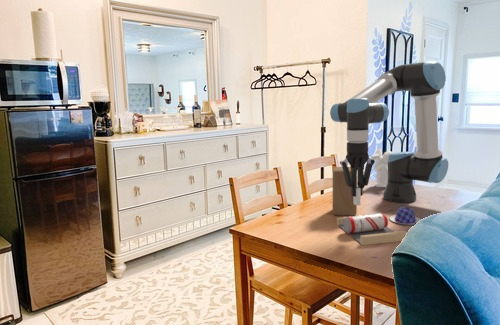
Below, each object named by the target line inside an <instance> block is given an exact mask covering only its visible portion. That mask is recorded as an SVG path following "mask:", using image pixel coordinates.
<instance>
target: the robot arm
mask: <svg viewBox="0 0 500 325" xmlns="http://www.w3.org/2000/svg"><path fill="white" fill-rule="evenodd" d="M446 78H447V76H446V71H445V68H444V67H443V65H442V64H441V63H440V62H438V61H424V62H416V63H415V62H414V63H406V64H401V65H398V66H395V67H393V68H391V69H389V70H387V71H386V72H384V73H383V74H381V75H380V76H379V77H378V78H377V79H376V81H375V82H373V83H371V84H370V85H369V86H367V87H366V88H364V89H363V90H361V91H359V92H357V94H355V95H354V96H352V97H350V98H349V99H348V100H345V101H344V102H342V103H341V102H339V103H335V104H332V106H331V107H330V111H329V114H330V118H331V120H332V121H333V122H334V123H335V122H337V123H341V124H342V123H346V141H347V142H346V156H345V158H344V160H340V161H339V164H340V167H342V168H343V172H344V177H345V181H346V185H347V186H349V187H351V195H352V196H353V204H355V205H356V206H357V207H358V206H361V197H362V196H363V193H364V191H363V189H364V188H365V186H366V187H367V186H368V185H369V181H370V177H371V174H372V170H373V169H372V168H373V167H374V165H375V161H376V160H373V159H371V157H370V155H369V142H368V141H369V126H370V125H371V124H379V123H383V122H385V121H387V119H388V117H389V115H390V110H389V107H388V106H387V104H386V103H385V102H379V101H380V100H382V99H383V98H385V97H386V96H388V95H389V96H390V95H393V94H395V93H396V92H410V97H411V98H413V99H414V116H415V128H416V129H415V131H416V147H417V148H416V149H417V150H416V151H415V152H413V151H400V152H399V151H397V152H393V153H392V154H390V155H389V156H388V162H387V163H388V180H387V185H386V187H384V188H385V189H384V191H383V197H382V198H383V199H384V200H385V201H388V202H393V203H394V202H395V203H411V202H415V201H417V193H416V190H415V187H414V186H415V185H414V181H419V182H426V183H430V184H439V183H442V181H443V180H444V179H445V178H446V176H447V173H448V170H449V161H448V159H447V158H446V157H444V156H443V151H441V150H440V149H439V133H438V131H439V129H438V109H437V108H438V106H437V105H438V104H437V96H439V95H440V94H441V90H443V88H444V86H445V85H446ZM369 124H370V125H369ZM348 165H349V166H348ZM348 167H350V168H351V178H350V173H349V169H348Z"/></svg>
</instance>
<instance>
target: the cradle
mask: <svg viewBox="0 0 500 325" xmlns="http://www.w3.org/2000/svg"><path fill="white" fill-rule="evenodd" d="M346 217H347V216H340V217H336V226H337V227H339V228H340V229H341V230H343V231H344V232H345V233H346V234H347V235H349V236H350V237H351V238H353V239H354V241H356V242H358V244H360V245H361V246H367V245H369V246H370V245H377V244H378V245H379V244H386V243H387V244H388V243H395V242H396V243H397V242H403V241H402V239H403V238H404V237H405V235H406V233H407V234H408V231H406V230H401V231H395V230H393V229H391V228H389V227H388V226H387V227H385V228H383V229H381V230H373V231H365V232H358V233H347V232H346V231H345V230H344V227H343V220H344V219H345V218H346ZM348 217H350V216H348Z"/></svg>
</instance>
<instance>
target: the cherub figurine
mask: <svg viewBox="0 0 500 325" xmlns="http://www.w3.org/2000/svg"><path fill="white" fill-rule="evenodd" d="M382 152H383V151H382V149H381V148H380V147H379V146H377V147H376V151H375V153H374V155H372V156H371V157H370V158H371V159H373V160H375V163H374V165H373V171H374V172H375V173H376V174H375V178H376V182H375V183H374V186H375V187H376V188H382V189H383V188H386V185H387V180H388V163H387V162H388V156H389V155H390V154H392V153H394V152H393V151H391V150H388V151H385V152H383V154H382Z"/></svg>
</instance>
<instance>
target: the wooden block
mask: <svg viewBox="0 0 500 325" xmlns="http://www.w3.org/2000/svg"><path fill="white" fill-rule="evenodd" d="M348 169H349V173H350V178H351V168H350V166H348ZM357 207H358V206H356V205H355V204H353V196H352V195H351V187H349V186H347V185H346V181H345V177H344V172H343V168H342V166H334V167H333V168H332V214H333V215H334V216H346V217H349V216H357V212H358V211H357V210H358V209H357Z"/></svg>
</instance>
